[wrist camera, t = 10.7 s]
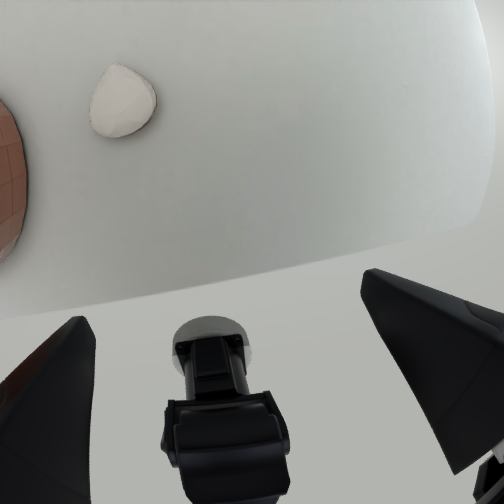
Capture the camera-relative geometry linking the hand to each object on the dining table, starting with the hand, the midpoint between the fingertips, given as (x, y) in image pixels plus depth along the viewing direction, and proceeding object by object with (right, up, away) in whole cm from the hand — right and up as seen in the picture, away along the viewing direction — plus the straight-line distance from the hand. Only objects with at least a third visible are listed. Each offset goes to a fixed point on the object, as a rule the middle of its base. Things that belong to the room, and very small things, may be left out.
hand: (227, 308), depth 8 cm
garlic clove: (-7, +11, +6) cm, 15 cm away
